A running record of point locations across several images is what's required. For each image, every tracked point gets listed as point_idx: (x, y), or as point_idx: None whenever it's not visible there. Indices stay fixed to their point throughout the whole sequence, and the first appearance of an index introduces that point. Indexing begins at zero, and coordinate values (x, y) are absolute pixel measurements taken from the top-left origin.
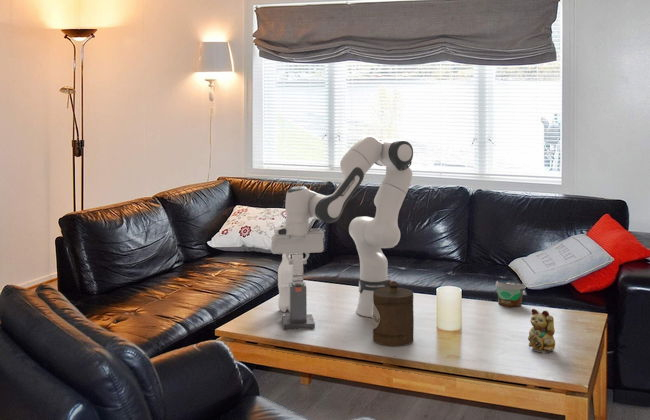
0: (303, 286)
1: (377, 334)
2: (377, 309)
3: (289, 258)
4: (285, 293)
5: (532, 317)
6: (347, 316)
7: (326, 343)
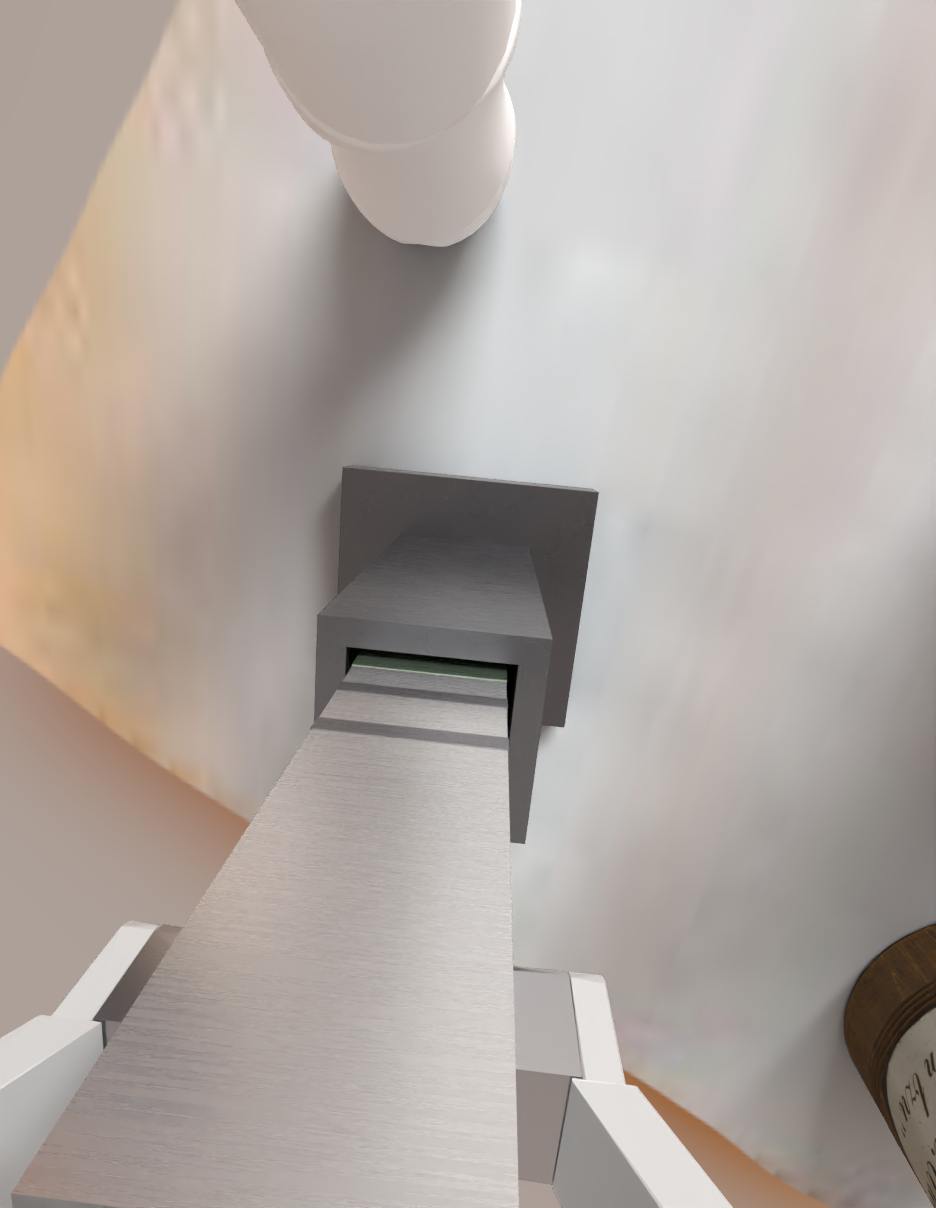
0: None
1: (878, 1105)
2: None
3: (59, 1113)
4: (379, 162)
5: None
6: (901, 478)
7: None
